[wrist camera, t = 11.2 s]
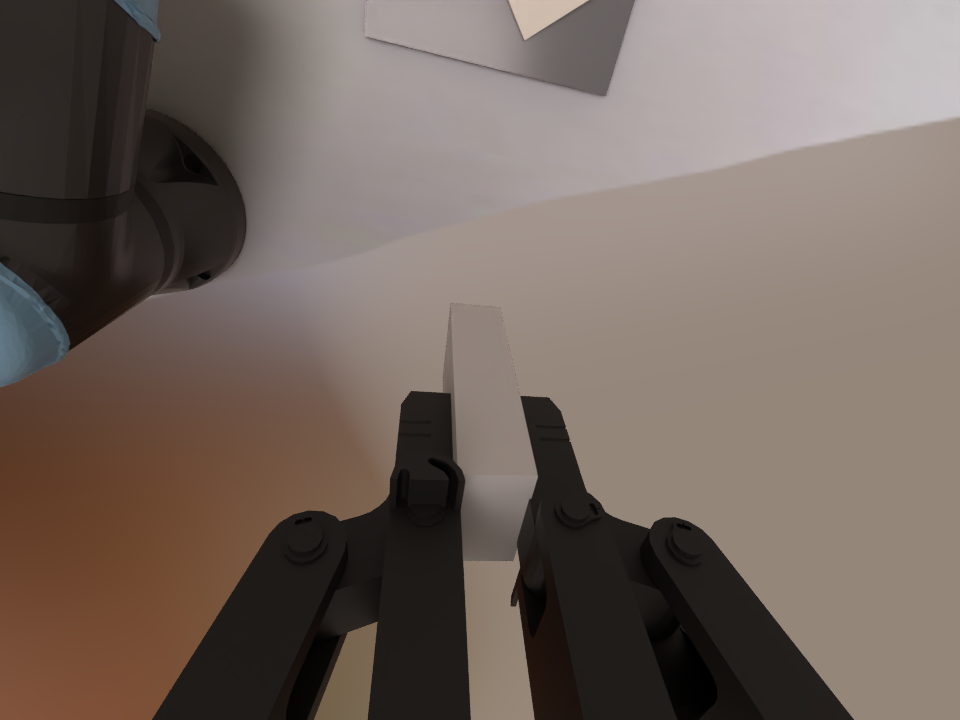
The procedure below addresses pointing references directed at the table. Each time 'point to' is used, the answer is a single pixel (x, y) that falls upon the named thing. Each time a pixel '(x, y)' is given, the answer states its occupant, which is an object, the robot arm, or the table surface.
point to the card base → (539, 13)
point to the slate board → (509, 37)
